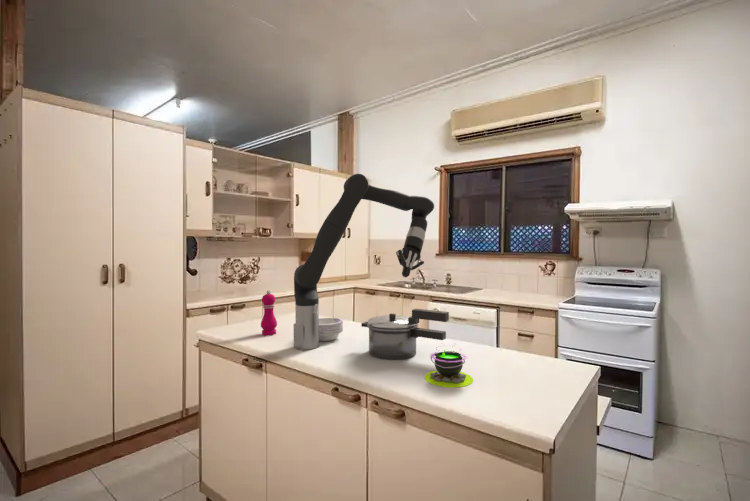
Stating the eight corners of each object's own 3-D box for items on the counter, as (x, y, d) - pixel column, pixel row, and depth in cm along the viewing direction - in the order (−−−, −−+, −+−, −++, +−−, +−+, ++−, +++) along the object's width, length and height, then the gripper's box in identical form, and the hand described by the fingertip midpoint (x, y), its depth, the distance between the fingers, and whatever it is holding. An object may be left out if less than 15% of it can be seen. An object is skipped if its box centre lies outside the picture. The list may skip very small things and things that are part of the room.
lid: (358, 325, 146) (358, 308, 145) (383, 316, 161) (383, 301, 161) (436, 336, 129) (436, 317, 129) (456, 325, 145) (456, 308, 145)
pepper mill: (274, 336, 175) (274, 291, 174) (258, 335, 175) (258, 291, 174) (279, 332, 182) (278, 289, 181) (263, 332, 182) (263, 289, 181)
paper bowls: (303, 336, 174) (303, 318, 173) (336, 332, 180) (336, 315, 180) (313, 345, 160) (313, 325, 160) (347, 340, 166) (347, 322, 166)
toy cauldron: (417, 382, 119) (417, 346, 118) (433, 368, 132) (433, 335, 131) (465, 391, 111) (466, 353, 111) (478, 375, 125) (478, 341, 124)
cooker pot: (350, 353, 148) (350, 324, 147) (377, 342, 164) (376, 316, 164) (433, 369, 130) (433, 336, 129) (454, 354, 146) (454, 325, 145)
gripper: (406, 230, 158) (395, 267, 151) (432, 243, 162) (423, 280, 155) (397, 236, 165) (386, 272, 157) (423, 249, 169) (413, 285, 161)
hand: (405, 276), depth 156 cm, fingers closed
